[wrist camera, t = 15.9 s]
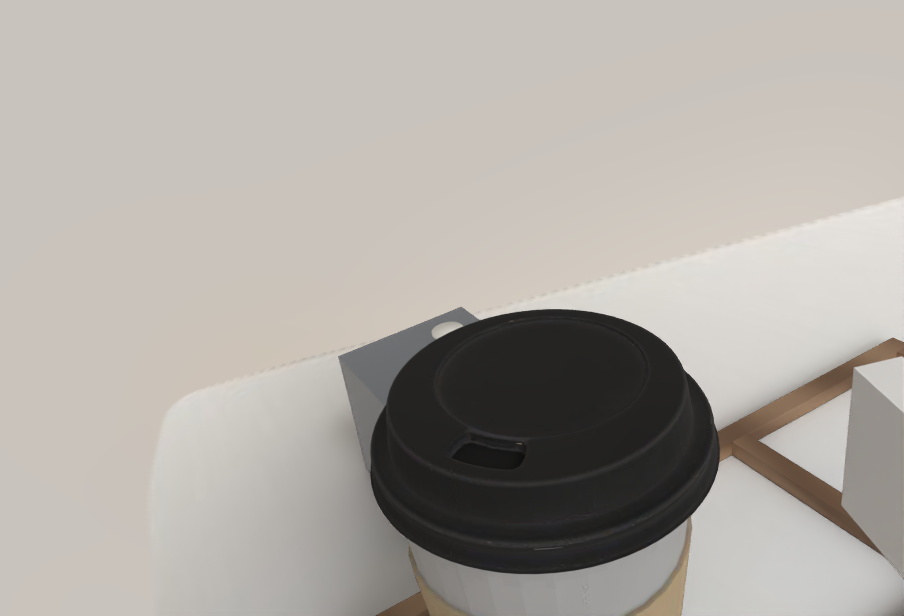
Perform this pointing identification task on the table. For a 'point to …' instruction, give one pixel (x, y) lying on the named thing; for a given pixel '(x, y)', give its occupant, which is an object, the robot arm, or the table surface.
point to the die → (388, 369)
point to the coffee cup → (546, 467)
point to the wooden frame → (765, 460)
